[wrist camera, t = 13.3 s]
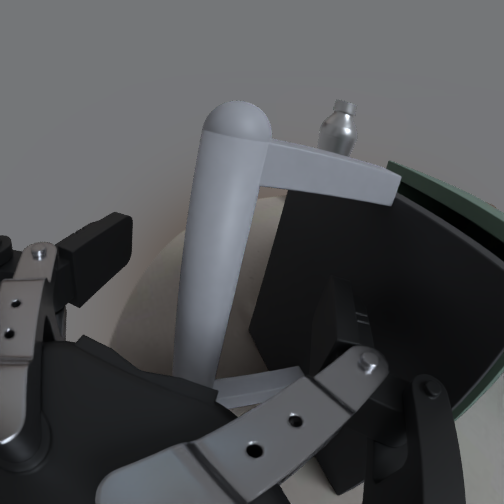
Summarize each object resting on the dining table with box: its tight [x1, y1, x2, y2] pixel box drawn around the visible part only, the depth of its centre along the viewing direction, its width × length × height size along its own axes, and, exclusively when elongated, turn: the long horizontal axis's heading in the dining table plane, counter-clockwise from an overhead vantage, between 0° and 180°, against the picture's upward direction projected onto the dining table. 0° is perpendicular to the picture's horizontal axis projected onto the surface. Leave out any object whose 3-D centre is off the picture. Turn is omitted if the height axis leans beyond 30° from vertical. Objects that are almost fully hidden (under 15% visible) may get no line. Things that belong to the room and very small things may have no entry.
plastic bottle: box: [317, 100, 357, 157], centre depth 47 cm, size 6×7×20 cm
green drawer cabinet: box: [386, 161, 504, 422], centre depth 19 cm, size 16×14×14 cm
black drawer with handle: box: [172, 101, 504, 495], centre depth 14 cm, size 22×14×15 cm, turn 111°
